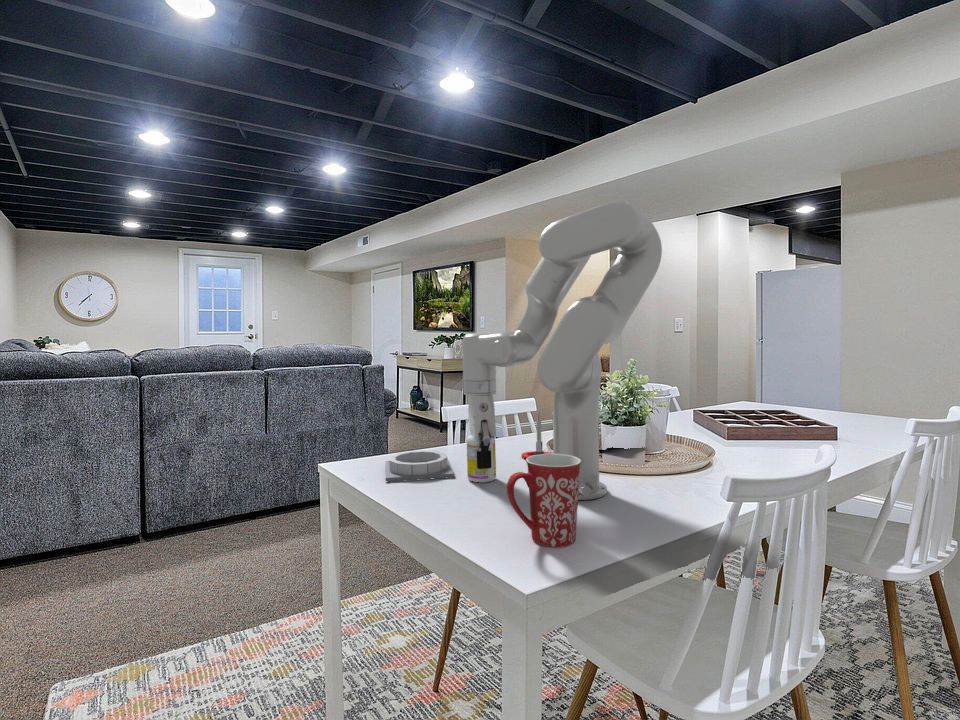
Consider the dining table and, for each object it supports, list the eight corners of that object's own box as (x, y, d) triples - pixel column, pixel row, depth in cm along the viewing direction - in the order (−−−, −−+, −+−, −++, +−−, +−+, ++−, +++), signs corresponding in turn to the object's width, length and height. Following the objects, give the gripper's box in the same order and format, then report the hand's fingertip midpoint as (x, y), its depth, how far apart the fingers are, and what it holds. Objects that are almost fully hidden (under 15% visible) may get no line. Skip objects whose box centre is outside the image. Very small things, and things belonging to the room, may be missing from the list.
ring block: (454, 477, 132) (454, 462, 131) (385, 482, 129) (385, 467, 129) (447, 461, 147) (446, 448, 147) (385, 465, 145) (385, 451, 144)
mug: (567, 526, 99) (566, 451, 98) (591, 545, 90) (590, 463, 89) (499, 535, 95) (497, 457, 95) (518, 556, 87) (516, 470, 86)
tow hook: (520, 455, 154) (523, 462, 145) (519, 408, 154) (522, 412, 144) (550, 455, 154) (556, 461, 145) (549, 408, 154) (555, 412, 145)
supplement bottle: (484, 473, 134) (483, 420, 133) (502, 479, 129) (501, 424, 128) (461, 479, 130) (460, 424, 129) (479, 485, 125) (477, 428, 124)
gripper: (503, 391, 120) (505, 473, 121) (489, 382, 137) (490, 454, 139) (469, 392, 119) (471, 475, 120) (458, 384, 136) (460, 456, 137)
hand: (481, 463), depth 129 cm, fingers closed on supplement bottle, 6 cm apart
